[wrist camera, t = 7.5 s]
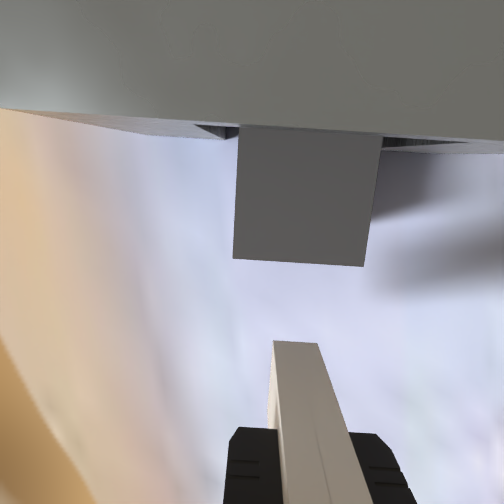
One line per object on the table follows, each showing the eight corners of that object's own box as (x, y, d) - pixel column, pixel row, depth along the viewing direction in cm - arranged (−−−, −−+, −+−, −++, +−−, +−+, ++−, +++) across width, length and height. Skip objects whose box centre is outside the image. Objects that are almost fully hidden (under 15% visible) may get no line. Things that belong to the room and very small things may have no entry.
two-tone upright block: (329, 231, 18) (363, 266, 12) (240, 225, 18) (232, 258, 12) (378, -173, 14) (463, -404, 8) (262, -180, 14) (266, -418, 8)
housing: (441, 154, 17) (681, 152, 7) (146, 134, 17) (-1, 108, 7) (454, 85, 16) (742, -17, 7) (145, 65, 16) (-20, -68, 7)
